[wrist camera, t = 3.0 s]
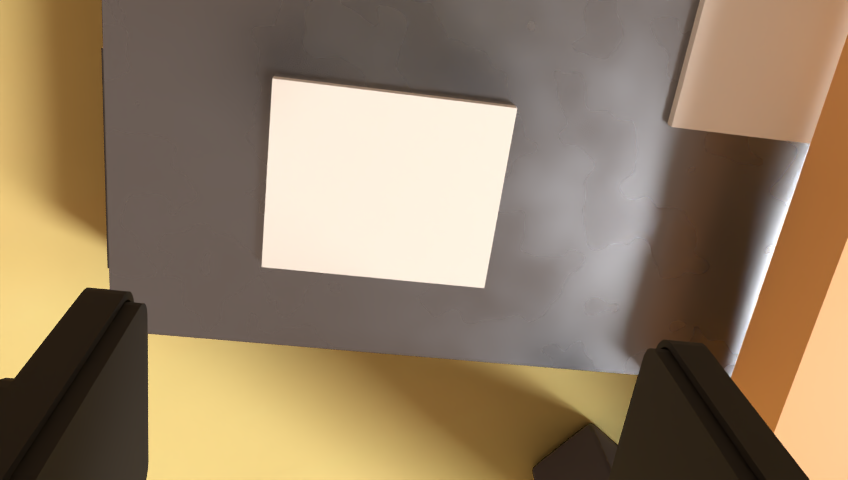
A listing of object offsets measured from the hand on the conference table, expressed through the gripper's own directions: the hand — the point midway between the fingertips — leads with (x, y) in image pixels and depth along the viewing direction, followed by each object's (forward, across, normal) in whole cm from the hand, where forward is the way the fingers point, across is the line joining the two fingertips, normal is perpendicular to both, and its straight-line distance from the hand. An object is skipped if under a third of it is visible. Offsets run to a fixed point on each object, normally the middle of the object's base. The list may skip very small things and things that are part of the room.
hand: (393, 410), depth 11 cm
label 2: (+10, -10, -5) cm, 15 cm away
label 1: (+10, 0, 0) cm, 10 cm away
